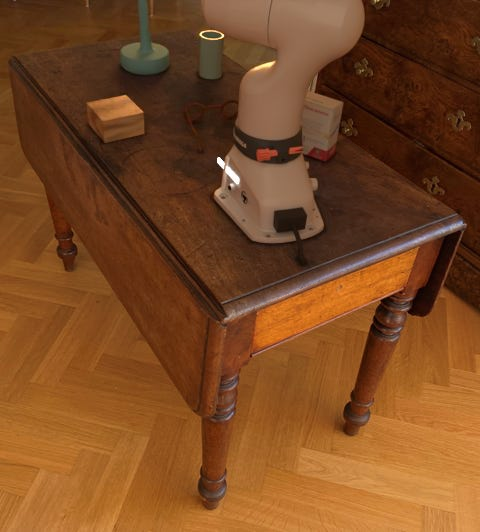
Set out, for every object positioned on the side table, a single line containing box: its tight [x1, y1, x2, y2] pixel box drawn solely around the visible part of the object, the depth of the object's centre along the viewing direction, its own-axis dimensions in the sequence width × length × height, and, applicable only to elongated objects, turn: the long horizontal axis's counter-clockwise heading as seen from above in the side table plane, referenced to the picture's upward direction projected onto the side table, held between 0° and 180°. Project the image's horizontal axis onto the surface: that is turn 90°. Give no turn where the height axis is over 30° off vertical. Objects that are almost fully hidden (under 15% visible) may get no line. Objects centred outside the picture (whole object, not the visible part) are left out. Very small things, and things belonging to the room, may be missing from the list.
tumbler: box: [198, 29, 225, 80], centre depth 150 cm, size 6×6×10 cm
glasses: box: [182, 99, 239, 153], centre depth 129 cm, size 13×13×5 cm
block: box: [85, 94, 145, 144], centre depth 128 cm, size 9×9×5 cm
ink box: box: [301, 90, 344, 162], centre depth 124 cm, size 9×5×12 cm, turn 57°
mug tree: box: [119, 0, 171, 76], centre depth 147 cm, size 12×12×25 cm
